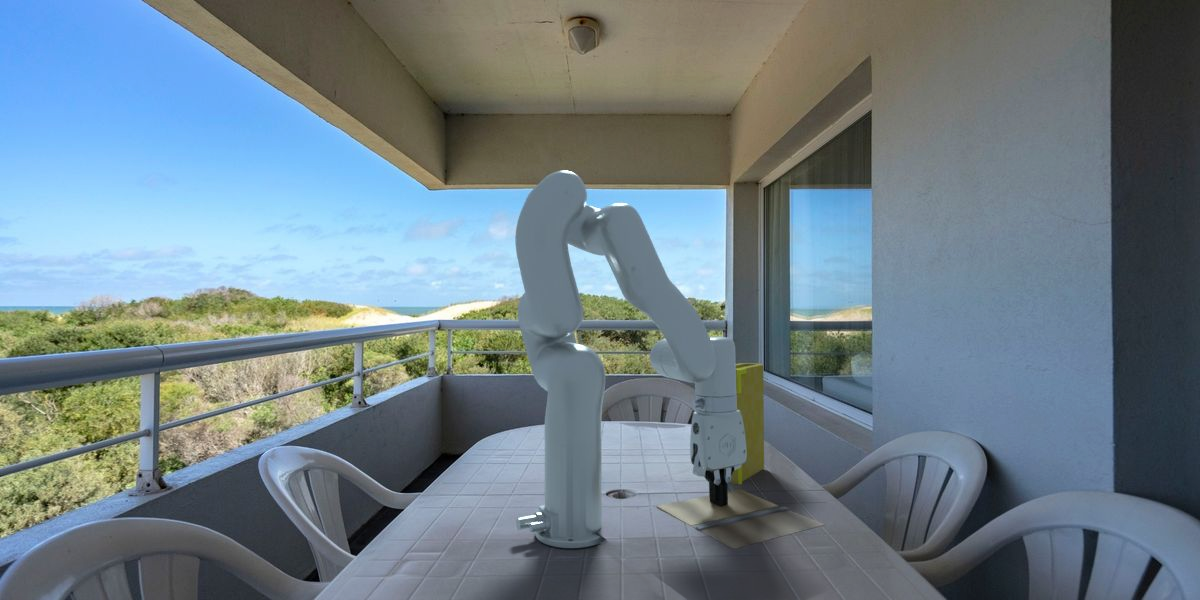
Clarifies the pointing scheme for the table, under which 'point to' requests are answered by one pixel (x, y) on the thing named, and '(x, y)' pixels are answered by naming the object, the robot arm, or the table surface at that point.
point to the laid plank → (757, 526)
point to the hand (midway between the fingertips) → (718, 503)
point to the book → (750, 418)
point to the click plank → (715, 507)
